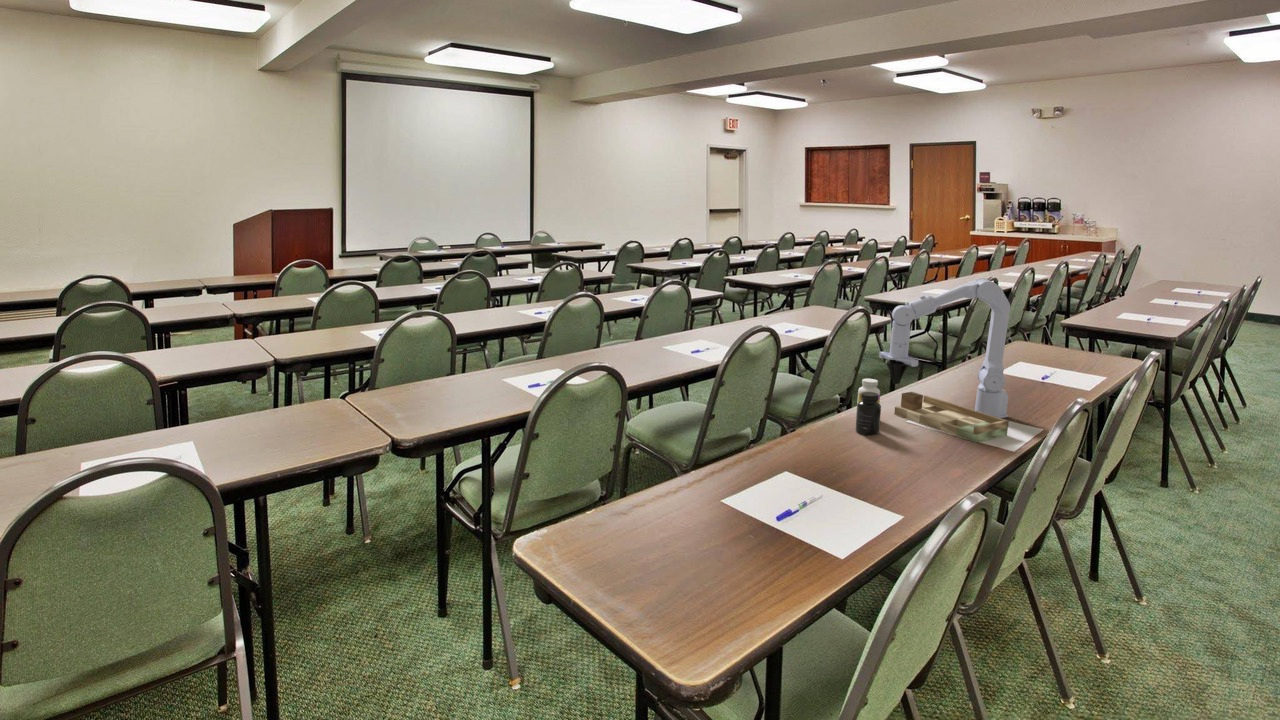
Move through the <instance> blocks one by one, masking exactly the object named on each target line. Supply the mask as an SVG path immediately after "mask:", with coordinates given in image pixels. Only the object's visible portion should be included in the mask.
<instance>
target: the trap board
mask: <svg viewBox="0 0 1280 720" xmlns="http://www.w3.org/2000/svg"><path fill="white" fill-rule="evenodd" d="M893 414H894V415H896V416H898V417H902V418H904V419H906V418H907V420H909V419H910V421H912V420H913V421H912V422H915V421H916V422H915V423H918V424H922V425H923V424H924V426H926V425H927V426H926V427H929V428H931V429H932V428H933V429H935V430H938V431H940V430H941V432H943V431H944V433H946V434H949V433H950V435H952V436H955V437H958V438H960V437H961V438H960V439H964V440H967V441H969V440H970V442H973V443H975V444H977V443H979V442H980V441H981V442H984V440H985V441H988V440H993V439H997V438H996V437H998V438H1001V437H1000V436H1002V437H1005V436H1004V435H1006V436H1007V435H1008V429H1009V422H1010V421H1009V420H1007V419H1004V418H998V417H995V416H991V415H988V414H985V413H982V412H978V411H975V409H971V408H968V407H966V406H962V405H958V404H955V403H952V402H950V401H949V402H948V401H945V400H942V399H939V398H936V397H934V396H929V395H923V401H922V409H917V410H909V409H906V408H903V407H901V405H898V406H894V413H893ZM992 438H993V439H992ZM981 442H980V443H981Z"/></svg>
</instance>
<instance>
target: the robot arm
mask: <svg viewBox="0 0 1280 720" xmlns="http://www.w3.org/2000/svg"><path fill="white" fill-rule="evenodd" d="M963 298H965V299H971V300H972V299H973V300H976V298H978V299H979V300H980V301H981V302H983V303H985V304H986V305H987V306H988V307H989V308H990V309H991V313H990V315H991V316H990V322H989V330H988V333H987V334H988V335H987V342H986V349H985V355H984V356H985V357H984V359H983V361H982V365H981V368H980V369H979V370H978V372H977V379H978V381H979V384H978V385H977V390H976V396H975V397H976V398H975V403H974V404H975V406H974V410H975V411H978V412H982V413H985V414H988V415H991V416H995V417H998V418H1001V419H1004V418H1008V417H1009V414H1007V411H1008V404H1009V403H1008V402H1009V395H1008V391H1006V390H1005V389H1004V387H1005V385H1006V378H1005V376H1004V363H1003V361H1004V360H1003V359H1004V353H1005V347H1006V341H1007V340H1006V339H1007V332H1008V327H1009V320H1010V312H1011V304H1010V302H1009V300H1008V298H1007V296H1006V294H1005V293H1004V289H1003V288H1002V287H1001V286H1000V285H999V284H997V283H996V282H994V281H991V280H990V279H988V278H985V277H982V278H978V279H976V280H971V281H968V282H965V283H963V284H960V285H959V286H956V287H954V288H952V289H949V290H947V291H944V292H943V293H941V294H938V295H936V296H931V295H924V294H922V295H920V296H919V298H918V299H915V300H913V301H911V302H909V301H906V302H905V303H904V305H901V304H900V305H897V306H895V307H894V309H893V310H892V312H891V317H892V324H891V325H892V328H891V333H890V342H889V352H888V351H879V353H878V358H880V359H885V360H889V361H886V366H887V367H888V370H889V373H890V378H891V383H892V384H894V385H898V384H900V383H901V380H902V379H903V376H904V374H905V372H906V370H907V368H908V367H909V366H911V367H918V366H919V360H918V359H915V358H913V357H911V356H909V347H910V339H911V338H910V337H911V323H912V322H913V320H918V319H921V318H922V317H923V318H924V317H925V316H928V315H931V314H933V313H936V311H937V309H938V307H940V306H944V305H946V304H950V303H952V302H955V301H958V300H960V299H963Z"/></svg>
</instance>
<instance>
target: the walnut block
mask: <svg viewBox="0 0 1280 720" xmlns="http://www.w3.org/2000/svg"><path fill="white" fill-rule="evenodd" d="M923 399H924V394H921V393H917V392H915V391H908V392H902V393H901V401H900V406H901V407H903V408H906V409H909V410H917V409H922V402H923Z"/></svg>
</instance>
